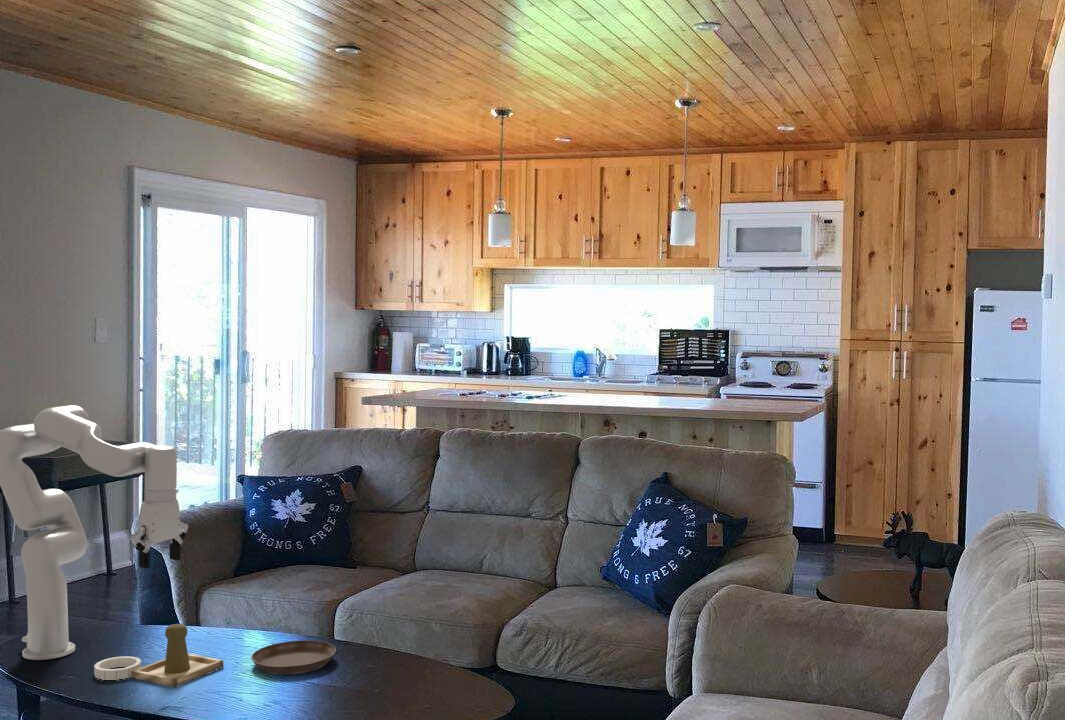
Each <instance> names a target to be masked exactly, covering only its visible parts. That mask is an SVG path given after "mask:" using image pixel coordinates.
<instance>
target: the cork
mask: <svg viewBox="0 0 1065 720" xmlns="http://www.w3.org/2000/svg"><path fill="white" fill-rule="evenodd" d="M164 635H165V638H166V639H167V643H166V652H165V658H166V660H165V670H164V671H165V672H166V673H182V672H185V671H188V670H189V669H190V664H189V658H188V653H189V652H188V648H187V647H188V646H187V641H186V638H187V636H188V628H187V626H186V624H184V623H174V624H170V625H168V626H167V627H166V628H165V630H164Z"/></svg>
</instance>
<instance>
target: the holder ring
mask: <svg viewBox="0 0 1065 720" xmlns="http://www.w3.org/2000/svg"><path fill="white" fill-rule="evenodd" d="M115 667H125V668H115ZM142 667H143V666H142V660H141V658H140V657H136V656H131V655H130V656H127V655H126V656H125V655H123V656H115V657H109V658H105V659H102V660H100V661H98V662H96V663H95V664H94V665H93V672H94V674H93V675H95V676H94V678H95V679H96V678H97V679H96V680H99V679H102V680H101V681H103V680H116V681H120V680H119V679H123V680H126V679H125V678H128V679H130V678H129V677H131V678H132V671H134V670H136V669H139V668H142ZM110 668H115V669H110ZM98 678H99V679H98Z"/></svg>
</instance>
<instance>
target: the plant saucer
mask: <svg viewBox="0 0 1065 720" xmlns="http://www.w3.org/2000/svg"><path fill="white" fill-rule="evenodd" d="M336 651H337V649H336V646H335V645H333V644H332V643H329V642H325V641H321V640H309V639H306V640H304V639H302V640H291V641H284V642H277V643H273V644H271V645H270V644H269V645H267V646H264V647H262V648H259V649H257V650H256V651H254V652H253V653H252V655H251V660H252V662H253V663H254V664H255V666H256V667H257V668H258V669H259V670H260V671H263V672H264V671H265V672H264V673H267V674H270V673H272V674H271V675H277V674H281V675H280V676H291V675H292V674H294V675H300V674H301V673H302V674H306V673H310V672H314V671H317V670H319V669H321V668H323V667H325V665H327V664H328V663H329V662H330V661H331V660H332V659H333V657H334V655H335V653H336ZM292 676H293V675H292Z"/></svg>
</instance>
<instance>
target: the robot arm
mask: <svg viewBox="0 0 1065 720" xmlns="http://www.w3.org/2000/svg"><path fill="white" fill-rule="evenodd" d="M102 434H103V433H102V428H101V426H100V425H99V424H97V423H96V422H93V421H91V420H90V416H89V414H88V413H87V411H86V410H85V409H84V408H83V407H81V406H79V405H73V404H72V405H71V404H69V405H62V406H53V407H52V406H51V407H48V408H45V409H43V410H41V411H40V412H39V413H38V414H37V415H36V416H35V418H34V419H33V423H28V424H27V423H26V424H20V425H12V426H8V427H5V428H2V429H0V489H1V491H2V493H3V496H4V498H5V501H6V504H7V506H8V508H9V511H10V513H11V516H12V518H13V521H14V523H15V525H16V526H17V527H18V528H19V529H20V530H23V531H32V530H37V529H41V528H46V527H48V529H49V530H46V531H42V532H38V533H36V534H34V535H32V536H30V537H28V539H26V540H25V541H24V543H23V544H22V547H21V553H20V554H21V562H22V564H23V568H24V574H25V581H26V582H25V583H26V602H27V604H26V605H27V606H26V607H27V608H26V610H27V633H26V636H23V637H22V638H21V641H22V642H24V643H26V647H25V648H24V649H22V652H21V653H22V654H21V655H22V658H23V659H26V660H29V661H30V660H31V661H34V660H35V661H43V660H44V661H46V660H53V659H57V658H63V657H65V656H68V655H71V654H72V653H74V652H75V650H76V644H75V643H73V642H71V641H69V639H70V638H69V637H70V636H69V611H68V610H69V609H68V607H69V605H68V584H67V579H66V577H65V574H64V573H63V571H62V568H61V566H62V565H65V564H67V563H71V562H74V561H77V560H79V559H80V558H81V557H83V556H84V555H85V554H86V552H87V548H88V539H87V534H86V531H85V530H84V527H83V525H82V522H81V520H80V519H81V518H80V517H79V515H78V512H77V510H76V506H75V505H74V502H73V500H72V499H71V497H70V496H69V495H68V494H67V492H65V491H63V490H62V489H59V488H47V489H42V488H41V486H40V484H39V482H38V479H37V476H36V475H35V473H34V471H33V470H32V469H31V468H30V466H28V465H27V464H26V463H25V462H24V461H23V459H25V458H29V457H30V458H31V457H34V456H40V455H46V454H48V453H52V452H53V451H56V450H58V449H59V448H61V447H63V448H65V449H67V450H69V451H72V452H74V453H77V454H79V456H80V458H81V459H82V461H83V462H84V463H85V464H86V465H87V467H90V468H91V469H94V470H95V471H98V472H101V473H103V474H105V475H108V476H110V477H115V478H116V477H118V478H119V477H126V476H130V475H136V474H139V473H140V474H141V473H144V500H143V502H141V505H140V507H139V513H138V525H137V530H136V531H135V532H134V533H133V534H132V535H130V538H129V539H130V541H131V543H132V546H133V547H134V549H136V550H135V551H137V552H138V567H139V568H142V569H146V570H147V569H149V568H150V567H151V552H150V551H149V550H150V549H151V547H152V545H153V544H157V543H158V544H159V543H163V542H167V541H170V542H171V543H169V559H170V560H174V561H177V562H178V561H181V552H182V551H181V549H182V547H181V545H183V543H184V539H185V538H186V536H187V532H188V529H189V524H187V523H185V522H183V521H181V512H180V505H179V504H180V503H179V500H178V499H177V494H179V488H177V482H178V481H177V476H178V475H177V474H178V472H177V467H178V465H177V463H178V456H177V455H178V454H177V449H176V447H174V446H171V445H164V444H163V445H161V444H159V445H156V444H153V443H149V442H145V441H144V442H143V441H142V442H141V441H140V442H139V441H138V442H133V443H127V444H122V445H113V444H111V443H109V442H105V441H104V440H102V437H103V435H102Z"/></svg>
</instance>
